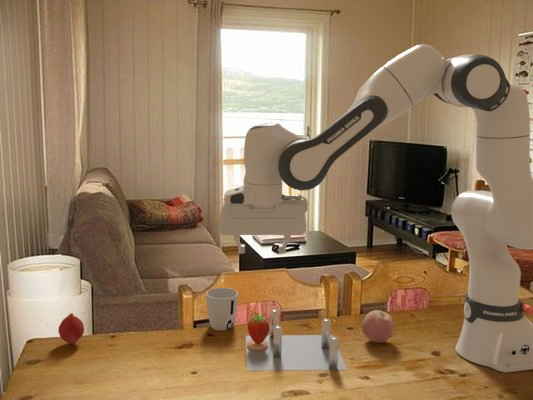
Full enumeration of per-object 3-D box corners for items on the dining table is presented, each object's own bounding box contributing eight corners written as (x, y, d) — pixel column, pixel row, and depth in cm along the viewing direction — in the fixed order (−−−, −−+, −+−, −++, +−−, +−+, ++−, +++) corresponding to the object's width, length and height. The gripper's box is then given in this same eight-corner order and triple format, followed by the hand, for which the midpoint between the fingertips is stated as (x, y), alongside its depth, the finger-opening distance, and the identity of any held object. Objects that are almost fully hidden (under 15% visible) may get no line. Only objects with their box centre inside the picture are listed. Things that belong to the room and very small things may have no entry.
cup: (232, 337, 140) (233, 300, 138) (202, 334, 141) (202, 297, 140) (240, 324, 148) (241, 289, 146) (211, 321, 149) (211, 286, 147)
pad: (267, 341, 136) (267, 339, 136) (268, 350, 131) (268, 348, 131) (246, 341, 135) (246, 339, 135) (247, 351, 131) (247, 348, 130)
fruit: (273, 343, 133) (274, 312, 132) (258, 350, 129) (259, 318, 128) (256, 337, 137) (257, 306, 135) (242, 343, 133) (242, 312, 131)
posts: (324, 335, 140) (325, 308, 139) (338, 369, 123) (339, 340, 121) (269, 335, 139) (270, 309, 138) (275, 370, 122) (275, 340, 120)
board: (332, 338, 140) (332, 335, 140) (346, 373, 123) (347, 369, 123) (245, 339, 139) (245, 335, 139) (247, 375, 121) (247, 370, 121)
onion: (53, 346, 133) (52, 315, 131) (70, 337, 138) (69, 306, 136) (73, 351, 131) (71, 319, 129) (89, 341, 136) (88, 310, 134)
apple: (379, 352, 134) (381, 320, 132) (355, 341, 139) (356, 311, 138) (399, 342, 139) (401, 312, 138) (374, 332, 145) (376, 303, 143)
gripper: (306, 192, 130) (304, 249, 133) (218, 191, 129) (218, 249, 132) (309, 197, 124) (308, 256, 127) (218, 196, 123) (218, 256, 126)
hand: (261, 252), depth 129 cm, fingers open, 8 cm apart
